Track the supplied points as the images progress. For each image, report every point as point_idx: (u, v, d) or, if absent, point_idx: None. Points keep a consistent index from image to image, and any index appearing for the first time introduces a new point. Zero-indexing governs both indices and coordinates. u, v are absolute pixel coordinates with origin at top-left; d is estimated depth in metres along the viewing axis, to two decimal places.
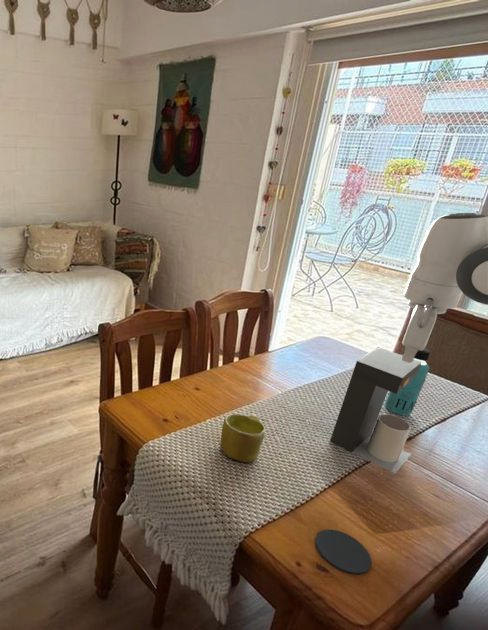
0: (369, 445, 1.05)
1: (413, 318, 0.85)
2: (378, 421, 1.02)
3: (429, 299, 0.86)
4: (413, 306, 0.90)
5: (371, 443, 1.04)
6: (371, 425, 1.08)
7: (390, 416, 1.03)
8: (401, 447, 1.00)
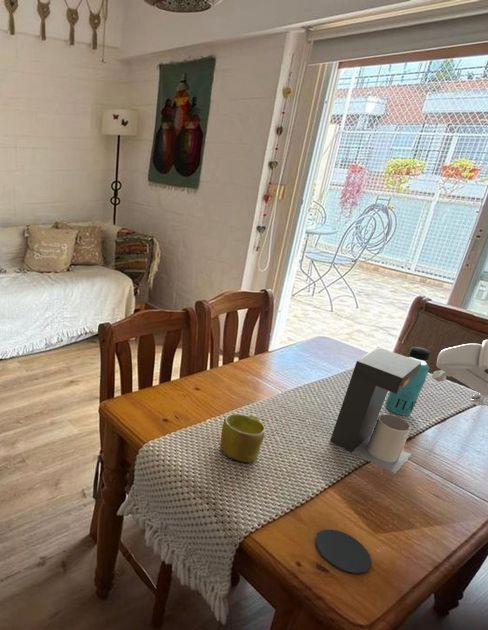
0: (369, 445, 1.05)
1: None
2: (378, 421, 1.02)
3: None
4: None
5: (371, 443, 1.04)
6: (371, 425, 1.08)
7: (390, 416, 1.03)
8: (401, 447, 1.00)
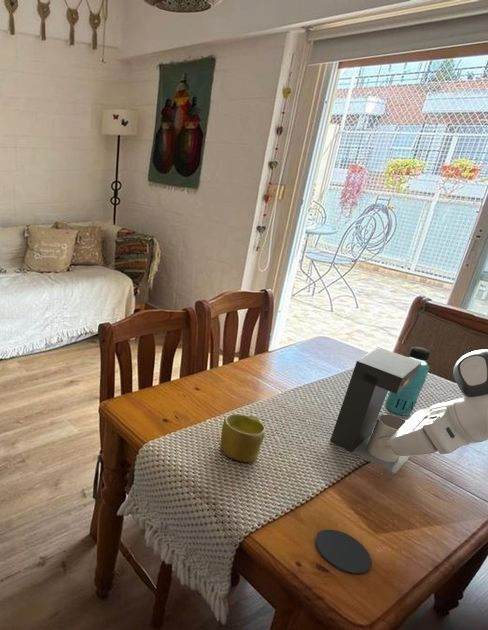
0: (369, 445, 1.05)
1: None
2: (378, 421, 1.02)
3: None
4: None
5: (371, 443, 1.04)
6: (371, 425, 1.08)
7: (390, 416, 1.03)
8: None
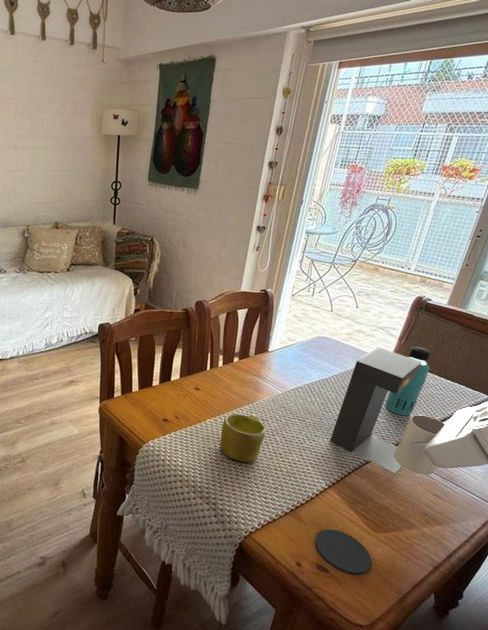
0: (398, 453, 0.85)
1: None
2: (410, 423, 0.83)
3: None
4: None
5: (401, 450, 0.84)
6: (371, 425, 1.08)
7: (424, 417, 0.83)
8: None
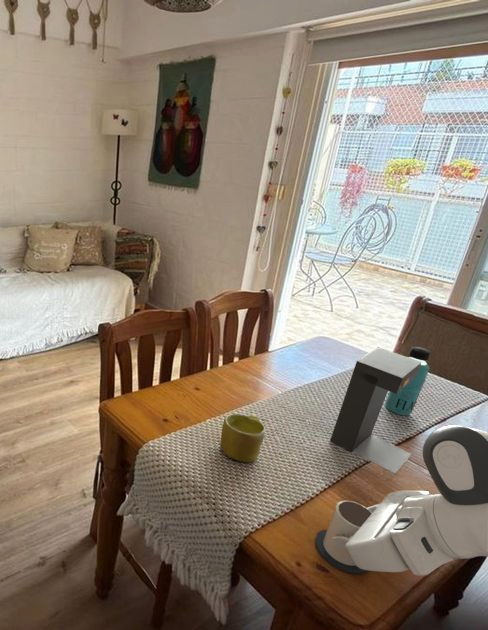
0: (325, 540, 0.81)
1: None
2: (336, 512, 0.79)
3: None
4: None
5: (328, 538, 0.80)
6: (371, 425, 1.08)
7: (352, 504, 0.79)
8: None
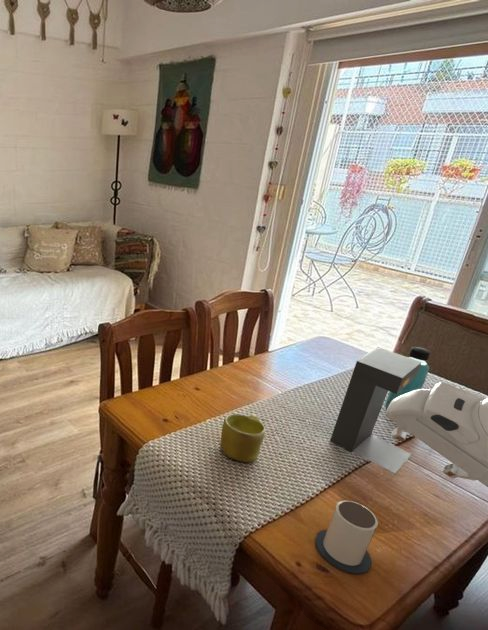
0: (325, 540, 0.81)
1: None
2: (336, 512, 0.79)
3: None
4: None
5: (328, 538, 0.80)
6: (371, 425, 1.08)
7: (352, 504, 0.79)
8: (364, 548, 0.77)
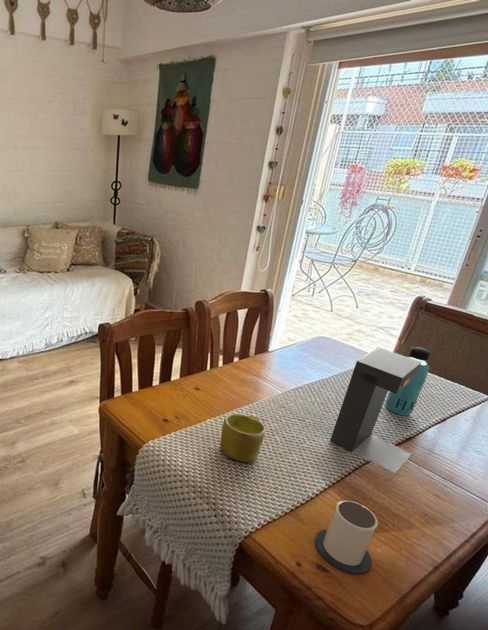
0: (325, 540, 0.81)
1: None
2: (336, 512, 0.79)
3: None
4: None
5: (328, 538, 0.80)
6: (371, 425, 1.08)
7: (352, 504, 0.79)
8: (364, 548, 0.77)
